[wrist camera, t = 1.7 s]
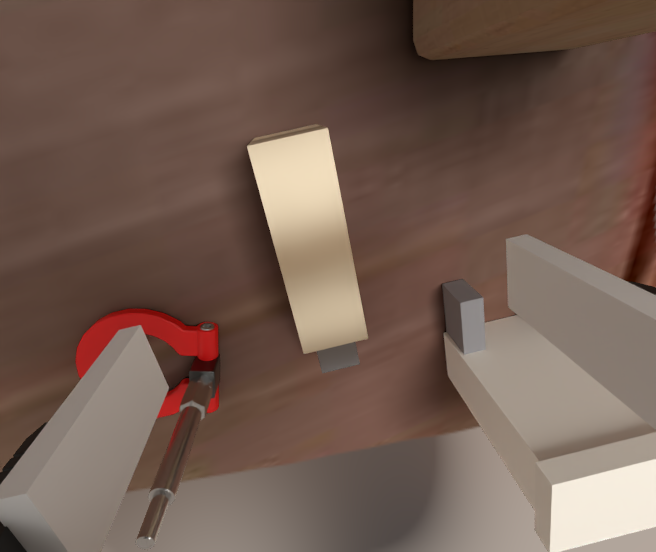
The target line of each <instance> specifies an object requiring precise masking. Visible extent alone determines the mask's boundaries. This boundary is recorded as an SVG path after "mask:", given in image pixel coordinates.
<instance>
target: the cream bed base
mask: <svg viewBox="0 0 656 552" xmlns="http://www.w3.org/2000/svg"><path fill="white" fill-rule="evenodd" d="M442 288H443V299H444V309H445V319H446V330H447V332H444V343H445V353H446V363H447V373H448V377H449V378H450V380H451V382H452V383H453V385H454V386H455V388H456V389H457V391H458V392H459V394H460V396H461V397H462V399H463V400H464V402H465V403H466V405H467V406H468V408H469V410H470V411H471V413H472V414H473V416H474V417H475V419H476V420H477V422H478V424H479V425H480V427H481V428H482V430H483V431H484V433H485V434H486V436H487V437H488V439H489V441H490V442H491V444H492V445H493V447H494V448H495V450H496V451H497V453H498V455H499V456H500V458H501V459H502V461H503V462H504V464H505V466H506V467H507V469H508V470H509V472H510V473H511V475H512V476H513V478H514V479H515V481H516V483H517V484H518V486H519V487H520V489H521V490H522V492H523V494H524V495H525V496H526V498H527V500H528V501H529V503H530V504H531V506H532V508H533V509H534V510H535V531H536V533H537V535H538V536H539V538H540V539H541V541H542V543H543V544H544V546H545V548H546V549H547V551H548V552H560V551H564V550H568V549H572V548H576V547H579V546H583V545H587V544H591V543H595V542H599V541H602V540H606V539H610V538H614V537H618V536H622V535H625V534H629V533H633V532H637V531H641V530H645V529H649V528H653V527H656V430H655V429H654V428H653V427H651V426H650V425H649V424H648V423H647V422H645V421H644V420H643V419H642V418H641V417H639V416H638V415H637V414H636V413H635V412H633V411H632V410H631V409H630V408H629V407H627V406H626V405H625V404H624V403H623V402H621V401H620V400H619V399H618V398H617V397H615V396H614V395H613V394H612V393H611V392H609V391H608V390H607V389H606V388H605V387H603V386H602V385H601V384H600V383H599V382H597V381H596V380H595V379H594V378H593V377H591V376H590V375H589V374H588V373H587V372H585V371H584V370H583V369H582V368H581V367H579V366H578V365H577V364H576V363H575V362H573V361H572V360H571V359H570V358H569V357H567V356H566V355H565V354H564V353H563V352H561V351H560V350H559V349H558V348H557V347H555V346H554V345H553V344H552V343H551V342H549V341H548V340H547V339H546V338H545V337H543V336H542V335H541V334H540V333H539V332H537V331H536V330H535V329H534V328H533V327H531V326H530V325H529V324H528V323H527V322H525V321H524V320H523V319H522V318H521V317H520V316H518V315H515V316H510V317H506V318H502V319H498V320H494V321H490V322H486V323H484V303H483V297H482V296H481V295H480V294H479V293H478V292H477V291H475V290H474V289H473V288H472V287H471V286H470V285H469V284H468V283H467V282H466V281H464V280H463V279H461V280H456V281H452V282H448V283H444V284H442Z"/></svg>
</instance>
